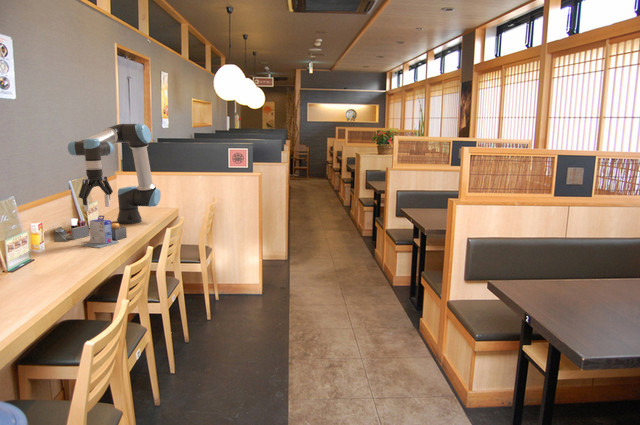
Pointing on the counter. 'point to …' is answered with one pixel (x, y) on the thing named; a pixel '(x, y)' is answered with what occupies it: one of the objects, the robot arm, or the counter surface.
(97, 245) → the rubber mat
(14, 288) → the counter surface
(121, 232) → the block
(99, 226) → the ink cartridge box
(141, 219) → the robot arm
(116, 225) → the plunger
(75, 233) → the cartridge holder
